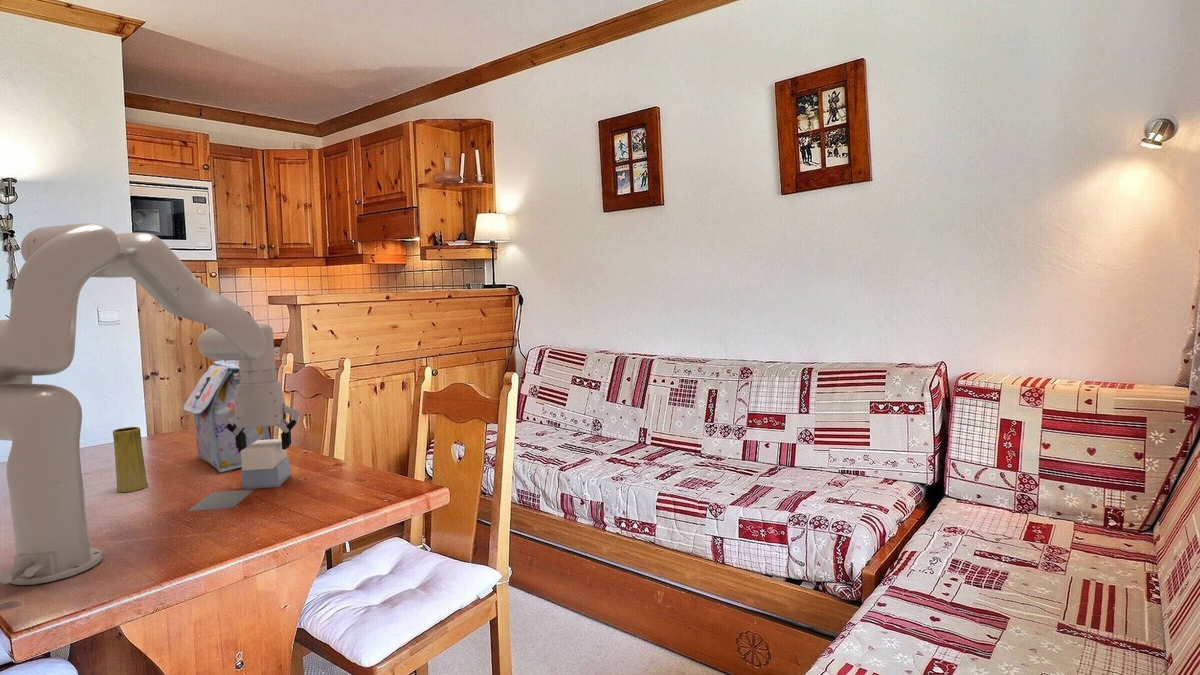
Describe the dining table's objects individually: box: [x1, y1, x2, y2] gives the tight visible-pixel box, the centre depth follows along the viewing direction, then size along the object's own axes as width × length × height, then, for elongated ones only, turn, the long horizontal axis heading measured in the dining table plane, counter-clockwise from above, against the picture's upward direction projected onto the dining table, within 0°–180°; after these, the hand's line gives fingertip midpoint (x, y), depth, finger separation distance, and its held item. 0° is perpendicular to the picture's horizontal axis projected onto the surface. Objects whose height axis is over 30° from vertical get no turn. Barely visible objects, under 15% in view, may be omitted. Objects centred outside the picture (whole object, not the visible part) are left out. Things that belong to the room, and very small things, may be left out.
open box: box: [240, 457, 291, 490], centre depth 156 cm, size 8×8×5 cm
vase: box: [112, 426, 149, 494], centre depth 156 cm, size 6×6×14 cm
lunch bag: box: [183, 360, 271, 473], centre depth 177 cm, size 22×17×26 cm
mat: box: [187, 488, 256, 512], centre depth 145 cm, size 12×9×1 cm
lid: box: [241, 438, 288, 471], centre depth 156 cm, size 10×6×4 cm, turn 8°
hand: (264, 449), depth 156 cm, fingers open, 9 cm apart
